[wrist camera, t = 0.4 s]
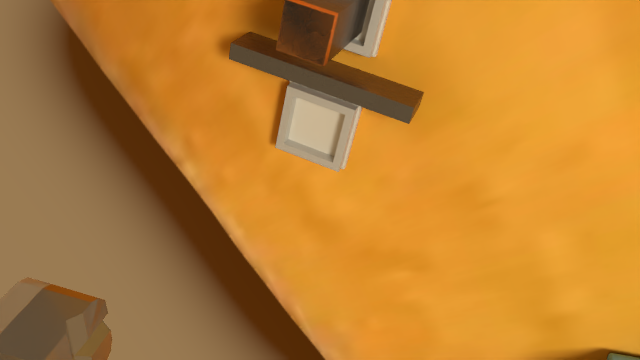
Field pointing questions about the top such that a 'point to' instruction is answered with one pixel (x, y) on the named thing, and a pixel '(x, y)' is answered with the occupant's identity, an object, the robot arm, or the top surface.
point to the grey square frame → (371, 29)
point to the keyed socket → (317, 126)
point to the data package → (621, 357)
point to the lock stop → (320, 27)
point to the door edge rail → (329, 78)
